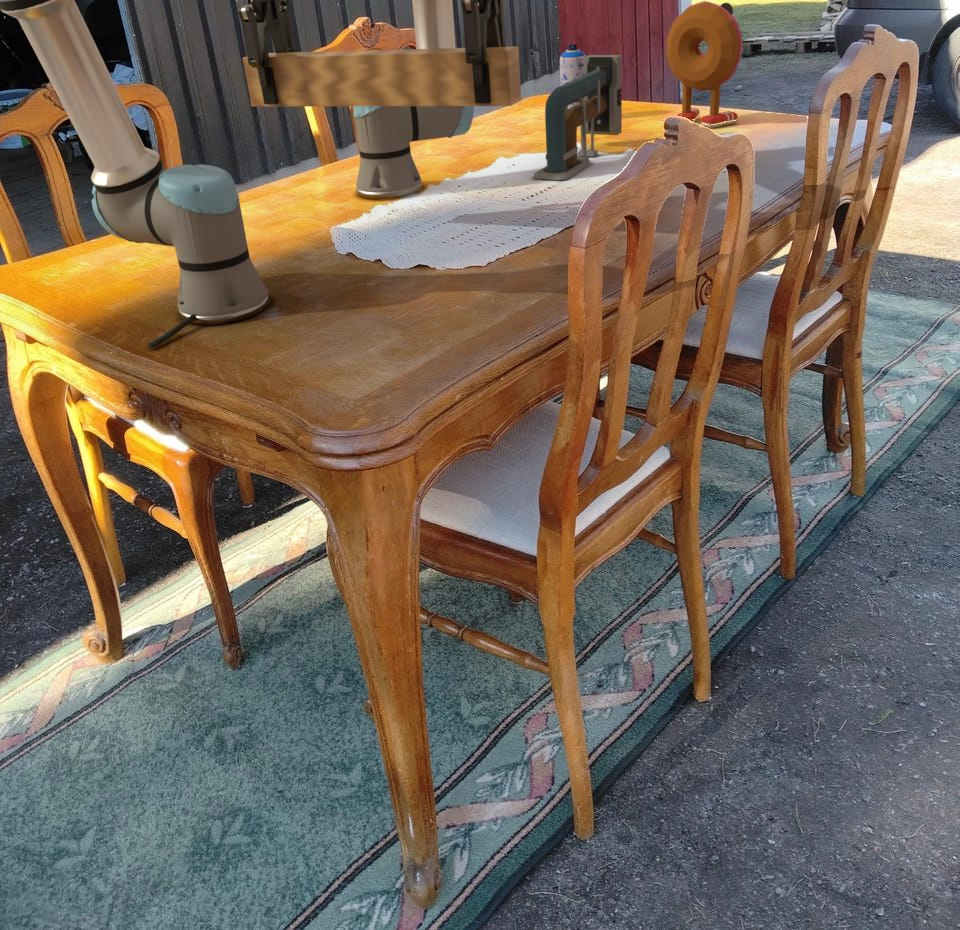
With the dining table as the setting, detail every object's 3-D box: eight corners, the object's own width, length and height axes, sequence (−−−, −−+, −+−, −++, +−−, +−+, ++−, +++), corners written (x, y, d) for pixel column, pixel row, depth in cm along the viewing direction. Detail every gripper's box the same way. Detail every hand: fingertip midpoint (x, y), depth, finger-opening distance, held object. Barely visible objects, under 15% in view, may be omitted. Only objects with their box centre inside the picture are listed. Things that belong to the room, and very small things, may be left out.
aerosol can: (559, 122, 275) (557, 47, 265) (562, 117, 282) (559, 42, 272) (587, 121, 274) (585, 45, 263) (589, 115, 280) (587, 41, 270)
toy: (748, 122, 257) (756, -2, 242) (728, 130, 251) (735, 3, 236) (679, 116, 271) (683, -2, 255) (659, 123, 264) (661, 3, 249)
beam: (251, 106, 186) (242, 57, 182) (266, 101, 190) (257, 53, 186) (510, 106, 167) (507, 51, 162) (521, 100, 171) (518, 46, 166)
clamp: (565, 180, 221) (562, 81, 210) (530, 178, 225) (526, 81, 214) (621, 144, 247) (621, 55, 236) (589, 143, 251) (588, 55, 240)
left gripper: (245, -31, 166) (269, 110, 178) (302, -40, 180) (321, 92, 192) (209, -29, 169) (235, 110, 180) (268, -38, 183) (289, 92, 195)
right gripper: (479, -46, 150) (490, 110, 162) (520, -55, 164) (526, 89, 176) (436, -44, 153) (449, 110, 164) (479, -53, 167) (488, 89, 179)
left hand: (279, 100), depth 186 cm, fingers closed on beam, 5 cm apart
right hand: (489, 99), depth 170 cm, fingers closed on beam, 5 cm apart
